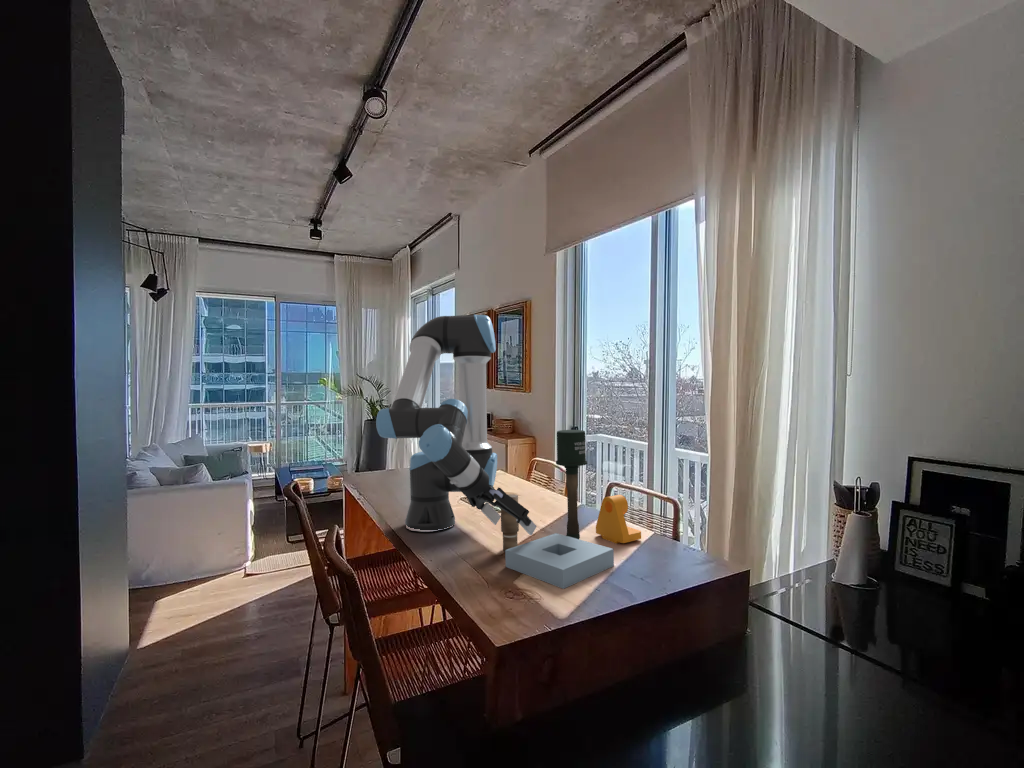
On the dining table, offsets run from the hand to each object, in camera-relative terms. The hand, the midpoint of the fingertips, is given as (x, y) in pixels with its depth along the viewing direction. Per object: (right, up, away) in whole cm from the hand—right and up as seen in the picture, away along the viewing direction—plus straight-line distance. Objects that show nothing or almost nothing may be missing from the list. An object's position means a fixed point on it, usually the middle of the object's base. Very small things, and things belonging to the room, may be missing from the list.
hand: (514, 525), depth 130 cm
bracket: (+29, -6, +7) cm, 30 cm away
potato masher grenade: (+16, -6, +6) cm, 18 cm away
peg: (-1, -6, -1) cm, 6 cm away
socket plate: (+10, -6, -13) cm, 18 cm away
